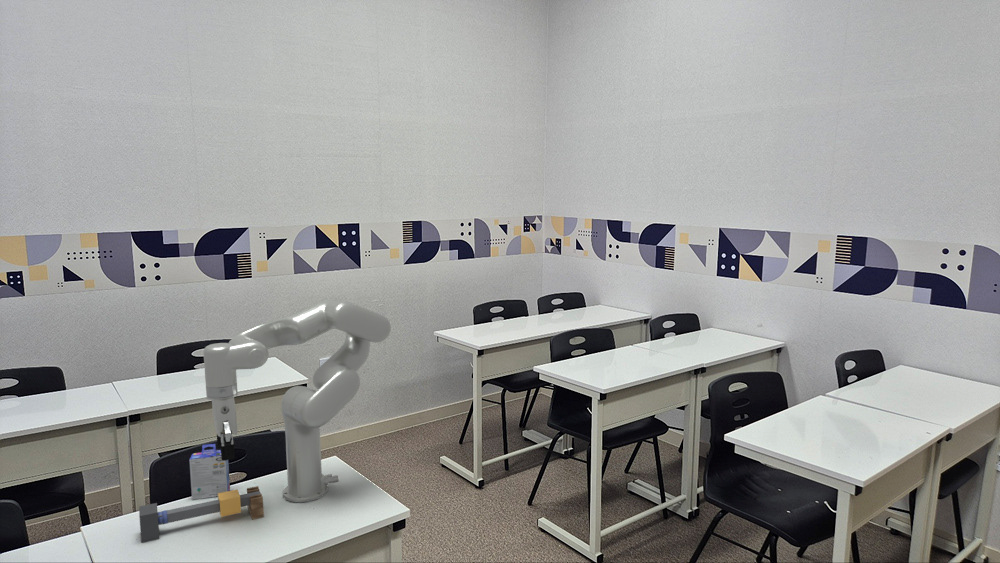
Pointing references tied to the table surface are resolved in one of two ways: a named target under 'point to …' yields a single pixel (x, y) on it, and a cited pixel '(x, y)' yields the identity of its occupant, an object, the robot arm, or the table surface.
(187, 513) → the long gray square bar
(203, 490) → the ink cartridge box
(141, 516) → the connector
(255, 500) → the brown wooden block
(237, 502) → the tan sliding collar
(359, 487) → the table surface
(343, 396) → the robot arm
